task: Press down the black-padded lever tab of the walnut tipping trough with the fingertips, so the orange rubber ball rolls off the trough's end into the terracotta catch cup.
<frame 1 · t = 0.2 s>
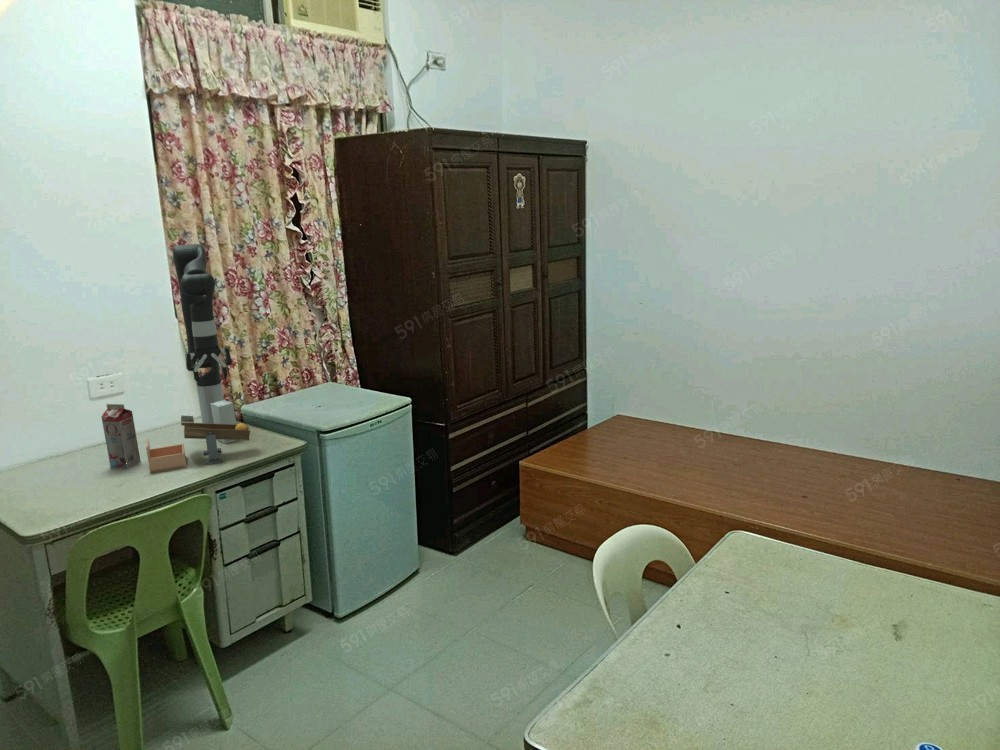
hand: (211, 379, 241), 28 cm above the table, tool pointing down, fingers open, 8 cm apart
tipping trough: (214, 427, 250), point 10 cm above the table, hinge at -12.1°, touching ball
ball: (241, 428, 250), point 9 cm above the table, tilted 6°, touching tipping trough
lever stand: (213, 457, 248), on the table
skincare box: (227, 440, 266), on the table
catch cup: (168, 464, 242), on the table
juice carton: (125, 465, 243), on the table
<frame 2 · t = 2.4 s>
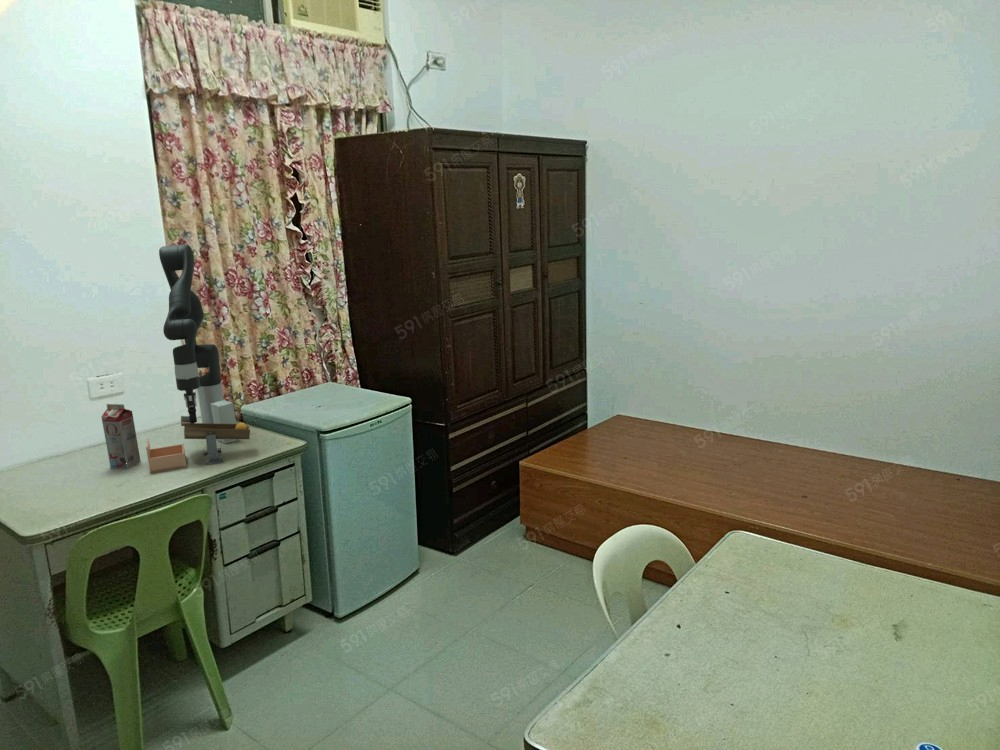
hand: (193, 419, 250), 12 cm above the table, tool pointing down
tipping trough: (214, 427, 250), point 10 cm above the table, hinge at -10.6°, touching ball, gripper
everything else where it was.
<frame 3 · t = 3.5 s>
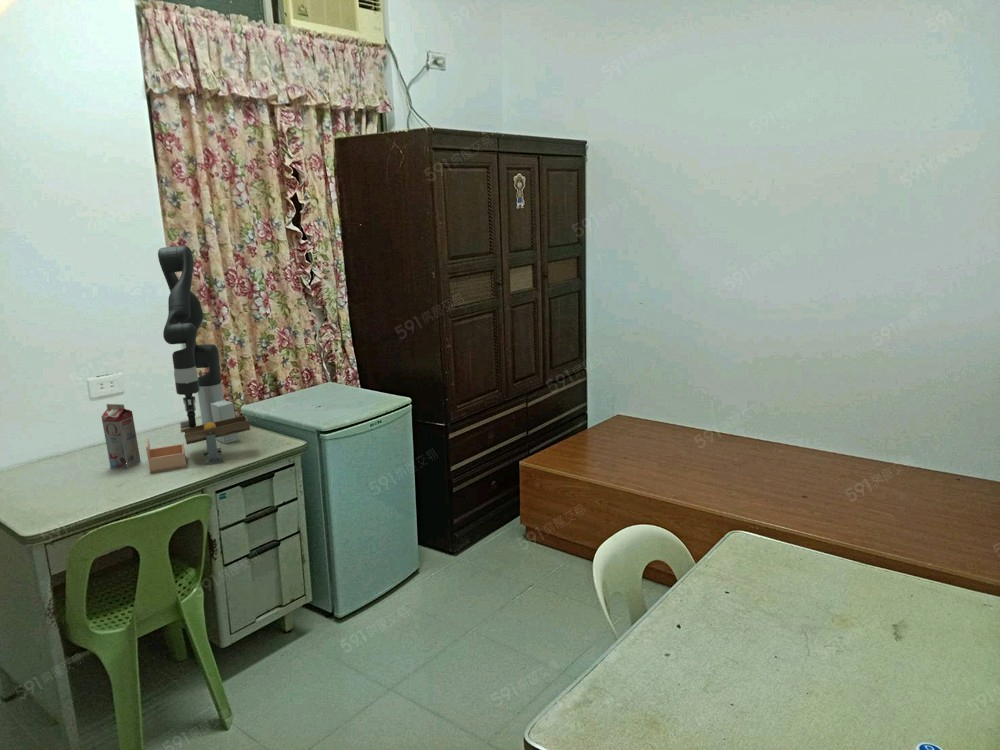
hand: (192, 423, 250), 11 cm above the table, tool pointing down
tipping trough: (214, 425, 250), point 10 cm above the table, hinge at 4.7°, touching ball, gripper
ball: (210, 427, 245), point 11 cm above the table, tilted 61°, touching tipping trough
everything else where it was.
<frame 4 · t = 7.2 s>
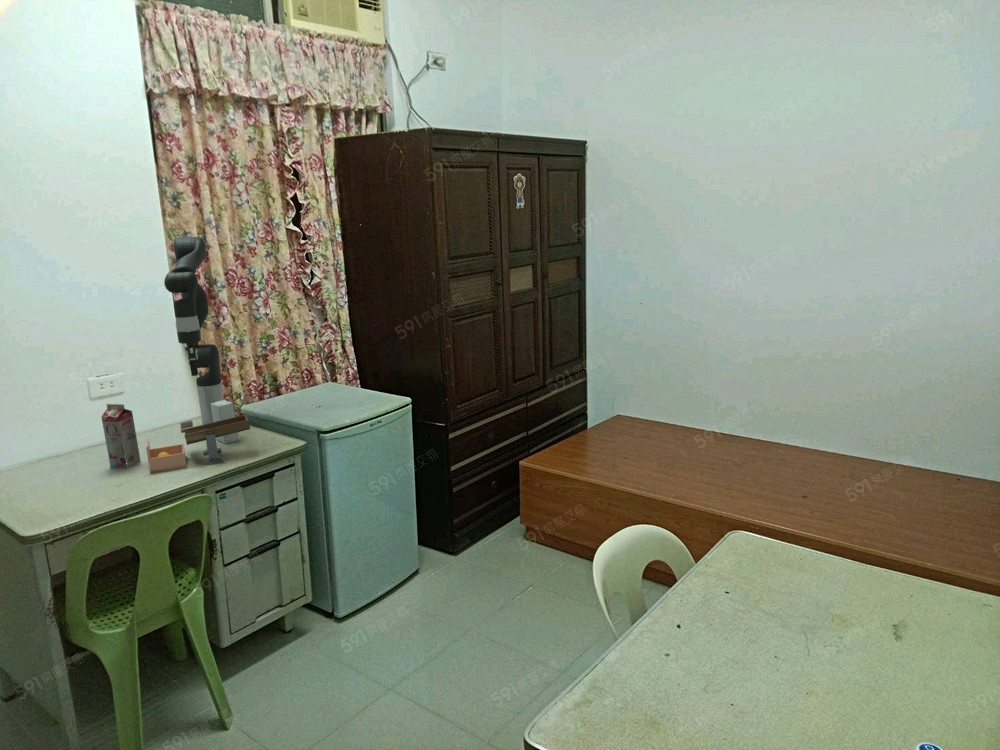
hand: (194, 373, 253), 28 cm above the table, tool pointing down, fingers open, 8 cm apart
tipping trough: (214, 425, 250), point 10 cm above the table, hinge at 5.6°
ball: (163, 457, 241), point 3 cm above the table, tilted 53°, touching catch cup
everything else where it was.
at the end: ball inside the target area on the catch cup (1.0 cm from its centre), point 2.8 cm above the catch cup's base; ball moved 26.4 cm from its start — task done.
